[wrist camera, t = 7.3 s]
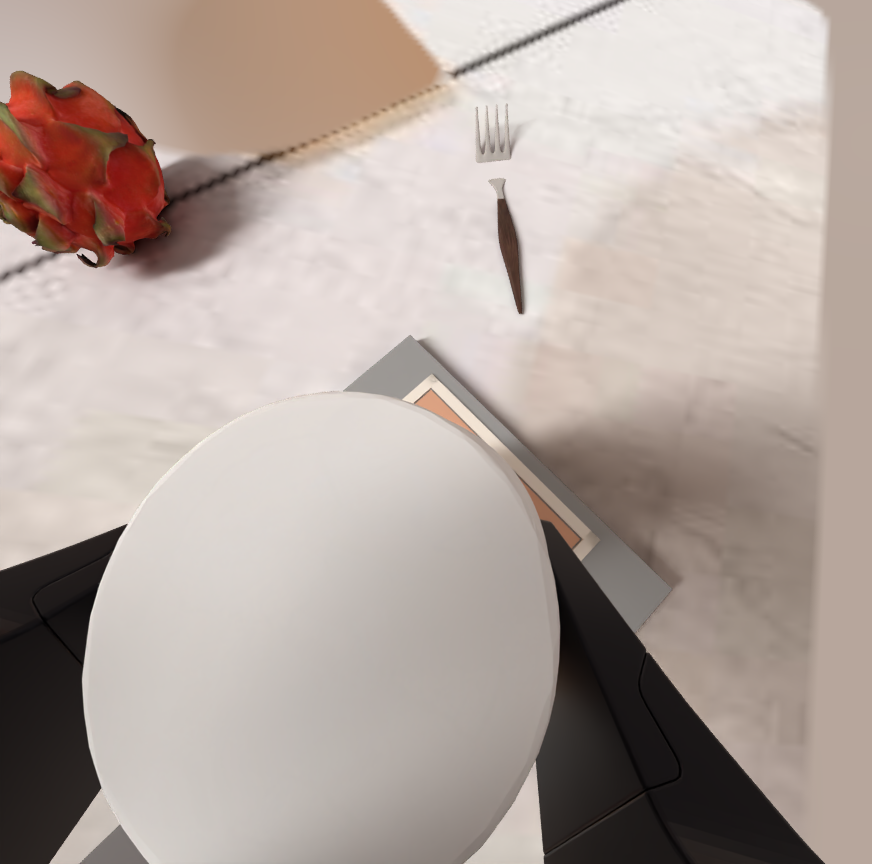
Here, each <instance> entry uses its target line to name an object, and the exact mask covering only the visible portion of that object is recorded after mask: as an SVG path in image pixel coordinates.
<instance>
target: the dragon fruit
mask: <svg viewBox="0 0 872 864" xmlns="http://www.w3.org/2000/svg"><path fill="white" fill-rule="evenodd" d="M10 88H11V98H10V101H9V103H6V104H4V103H2V102H0V219H1V220H3V222H4V223H6V224H12V225H13V226H15V227H16V228H18V229H19V230H20V231H22V232H25V233H26V234H27V235H29V236H31V237H33V238H34V239H36V240H35V241H33V242H32V244H37V245H35V246H42V249H43V250H46V251H50V252H53V253H57V254H58V253H76V252H77V251H78V250H79V249H80V248H85V249H87V250H90V251H93V252H94V253H95V254H96V255H97V257H98V260H97V263H96V264H95V263H93V262H92V261H90V260H89V259H88V258H87V257H85V256H84V255H83V254H82V256H80V255H78V254H77V256H78V258H79V259H80V260H81V261H82V262H83V263H84V264H85V265H87V266H89V267H94V268H97V267H102V266H106V265H107V264H108V263H109V262H110V260H111V259H112V257H114V252H116V253H119V254H123V255H129V254H132V253H133V252H134V251H135V245H134V243H133V242H134V241H135V240H138V239H143V238H154V239H155V238H157V237H158V236H159V235H160V234H162V233H164V232H165V231H167V234H166V236H168V235H169V234H170V232H171V226H170V224H167V222H166V221H165V219H164V218H160V221H158V220H157V216H158V215H159V213H160V212H161V210H162V209H163V208H164V207H165V206H167V205H168V204H170V200H169V198H168V197H167V193H166V191H165V189H164V181H163V176H162V171H161V168H160V165H159V162H158V160H157V158H156V156H155V151H154V150H153V146H154V144H155V142H154V141H153V140H152V139H148V140H147V139H146V138H145V137H144V136H143V134H142V133H141V132H140V131H139V129H138V127H137V125H136V124H135V122H134V121H133V120H132V118H131V117H130V116H129V115H127V114H126V113H125V112H123V111H121V110H120V109H118V108H116V107H115V106H114V105H112V104H111V103H110V102H109V101H108V100H106V99H105V98H104V97H103V96H101V95H100V94H98V93H97V92H96V91H94V90H93V89H91V88H89V87H87V86H86V85H84V84H83V83H81V82H80V81H73V82H72V83H70V84H68V85H66V86H65V87H63V89H59V90H57V89H56V88H55V87H54V86H52V85H51V84H49V83H48V82H46V81H44V80H43V79H41V78H37V77H35V76H33V75H31V74H28V73H26V72H24V71H16V72H14V73H12V74H11V76H10Z"/></svg>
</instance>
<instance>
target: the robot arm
mask: <svg viewBox="0 0 872 864" xmlns="http://www.w3.org/2000/svg"><path fill="white" fill-rule="evenodd" d="M540 521H541V525H542V528H543V531H544V535H545V539H546V543H547V549H548V556H549V559H550V562H551V567H552V571H553V575H554V579H555V585H556V592H557V599H558V606H559V620H560V647H559V667H558V675H557V684H556V692H555V698H554V703H553V707H552V711H551V716H550V720H549V724H548V727H547V730H546V733H545V736H544V739H543V742H542V745H541V748H540V751H539V753H538V756H537V758H536V769H537V781H538V793H539V805H540V817H541V829H542V842H543V852H544V854H545V855H544V864H825V863H824V862H823V861H822V860H821V859H820V858H819V857H818V856H817V855H816V854H815V853H814V852H813V851H812V850H811V848H810V847H809V846H808V845H807V844H806V843H805V842H804V841H803V839H802V838H801V837H800V836H799V835H798V834H797V833H796V832H795V830H794V829H793V828H792V827H791V826H790V824H789V823H788V822H787V821H786V820H785V819H784V817H783V816H782V815H781V814H780V813H779V811H778V810H777V809H776V808H775V807H774V806H773V804H772V803H771V802H770V801H769V800H768V798H767V797H766V796H765V795H764V794H763V793H762V791H761V790H760V789H759V788H758V787H757V785H756V784H755V783H754V782H753V781H752V780H751V778H750V777H749V776H748V775H747V774H746V773H745V771H744V770H743V769H742V768H741V767H740V765H739V764H738V763H737V762H736V761H735V760H734V758H733V757H732V756H731V755H730V754H729V752H728V751H727V750H726V749H725V748H724V747H723V745H722V744H721V743H720V742H719V741H718V739H717V738H716V737H715V736H714V735H713V733H712V732H711V731H710V730H709V729H708V727H707V726H706V725H705V724H704V722H703V721H702V720H701V719H700V718H699V716H698V715H697V714H696V713H695V712H694V710H693V709H692V708H691V707H690V705H689V704H688V703H687V702H686V701H685V699H684V698H683V697H682V695H681V694H680V693H679V691H678V690H677V689H676V688H675V686H674V685H673V684H672V682H671V681H670V680H669V678H668V677H667V676H666V675H665V673H664V672H663V671H662V669H661V668H660V667H659V665H658V664H657V663H656V661H655V660H654V659H653V657H652V656H651V655H650V653H646V648H645V647H644V645H643V644H642V643H641V641H640V640H639V639H638V637H637V636H636V635H635V633H634V632H633V631H632V629H631V628H630V627H629V625H628V624H627V623H626V621H625V620H624V619H623V617H622V616H621V615H620V613H619V612H618V610H617V609H616V608H615V606H614V605H613V604H612V602H611V601H610V600H609V598H608V597H607V596H606V594H605V593H604V592H603V590H602V589H601V588H600V586H599V585H598V584H597V582H596V581H595V580H594V578H593V577H592V576H591V574H590V573H589V572H588V570H587V569H586V568H585V566H584V565H583V564H582V562H581V561H580V559H579V558H578V557H577V555H576V554H575V553H574V551H573V550H572V549H571V547H570V546H569V545H568V543H567V542H566V541H565V539H564V538H563V537H562V535H561V534H560V533H559V531H558V530H557V529H556V527H555V526H554V525H553V523H552V522H550V521H546V520H542V519H540ZM127 525H128V524H126V525H123V526H121V527H118V528H116V529H113V530H111V531H108V532H106V533H103V534H101V535H98V536H95V537H93V538H90V539H88V540H85V541H82V542H80V543H77V544H75V545H72V546H69V547H66V548H64V549H61V550H58V551H55V552H53V553H50V554H47V555H44V556H41V557H39V558H36V559H33V560H30V561H27V562H24V563H21V564H18V565H16V566H13V567H10V568H7V569H4V570H1V571H0V864H49V863H50V861H51V860H52V859H53V857H54V856H55V854H56V853H57V851H58V850H59V848H60V847H61V846H62V844H63V843H64V841H65V840H66V838H67V837H68V835H69V834H70V833H71V831H72V830H73V828H74V827H75V825H76V824H77V823H78V821H79V820H80V818H81V817H82V815H83V814H84V812H85V811H86V810H87V808H88V807H89V805H90V804H91V802H92V801H93V799H94V798H95V797H96V795H97V794H98V792H99V791H100V789H101V788H102V787H101V784H100V781H99V778H98V775H97V772H96V769H95V766H94V762H93V759H92V755H91V752H90V748H89V743H88V736H87V729H86V722H85V716H84V703H83V688H82V675H83V667H84V659H85V651H86V643H87V636H88V629H89V622H90V616H91V612H92V609H93V605H94V602H95V599H96V595H97V592H98V588H99V585H100V582H101V580H102V577H103V575H104V572H105V569H106V567H107V565H108V562H109V560H110V558H111V556H112V554H113V551H114V549H115V547H116V545H117V542H118V540H119V538H120V536H121V535H122V533H123V532H124V530H125V528H126V527H127Z"/></svg>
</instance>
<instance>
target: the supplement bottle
mask: <svg viewBox="0 0 872 864" xmlns="http://www.w3.org/2000/svg"><path fill="white" fill-rule="evenodd" d="M559 647H560V620H559V606H558V599H557V592H556V585H555V579H554V575H553V571H552V567H551V562H550V559H549V556H548V549H547V543H546V539H545V535H544V531H543V528H542V525H541V521H540V519H539V516H538V513H537V511H536V508H535V506H534V504H533V501H532V499H531V497H530V496H529V494H528V492H527V490H526V488H525V487H524V485H523V483H522V482H521V481H520V479H519V478H518V476H517V475H516V473H515V472H514V470H513V469H512V468H511V467H510V465H509V464H508V463H507V462H506V461H505V460H504V459H503V458H502V457H501V456H500V455H499V454H498V453H497V452H496V451H495V450H494V449H493V448H492V447H490V446H489V445H488V444H487V443H486V442H485V441H484V440H482V439H481V438H479V437H478V436H476V435H475V434H473V433H472V432H470V431H468V430H467V429H465V428H463V427H461V426H459V425H458V424H456V423H453V422H451V421H449V420H447V419H445V418H443V417H442V416H440V415H438V414H436V413H434V412H432V411H430V410H428V409H426V408H423V407H421V406H419V405H417V404H414V403H411V402H407V401H404V400H401V399H398V398H394V397H389V396H384V395H378V394H371V393H364V392H344V391H330V392H321V393H315V394H310V395H301V396H296V397H292V398H288V399H285V400H281V401H278V402H274V403H271V404H268V405H266V406H263V407H261V408H259V409H256V410H254V411H251V412H249V413H246V414H244V415H242V416H240V417H239V418H237V419H235V420H233V421H231V422H230V423H228V424H226V425H225V426H223V427H222V428H220V429H219V430H217V431H216V432H214V433H213V434H211V435H209V436H208V437H207V438H205V439H204V440H203V441H201V442H200V443H199V444H197V445H196V446H195V447H194V448H193V449H191V450H190V451H189V452H188V453H187V454H186V455H184V456H183V457H182V458H181V459H180V460H178V461H177V462H176V463H175V464H174V465H173V466H172V467H171V469H170V470H169V471H168V472H167V473H166V474H165V475H164V476H163V477H162V478H161V479H160V480H159V481H158V482H157V483H156V484H155V486H154V487H153V488H152V490H151V491H150V492H149V494H148V495H147V496H146V498H145V499H144V500H143V502H142V503H141V504H140V506H139V507H138V508H137V510H136V512H135V513H134V515H133V517H132V518H131V520H130V522H129V523H128V525H127V527H126V528H125V530H124V532H123V533H122V535H121V536H120V538H119V540H118V542H117V545H116V547H115V549H114V551H113V554H112V556H111V558H110V560H109V562H108V565H107V567H106V569H105V572H104V575H103V577H102V580H101V582H100V585H99V588H98V592H97V595H96V599H95V602H94V605H93V609H92V612H91V616H90V622H89V629H88V636H87V643H86V651H85V659H84V667H83V675H82V688H83V703H84V716H85V722H86V729H87V736H88V743H89V748H90V752H91V755H92V759H93V762H94V766H95V769H96V772H97V775H98V778H99V781H100V784H101V787H102V790H103V793H104V796H105V798H106V800H107V802H108V804H109V806H110V808H111V809H112V811H113V813H114V814H115V816H116V818H117V820H118V821H119V823H120V825H121V826H122V828H123V830H124V831H125V832H126V834H127V835H128V836H129V838H130V839H131V841H132V842H133V843H134V845H135V846H136V847H137V849H138V850H139V852H140V853H141V854H142V856H143V857H144V858H145V859H146V860H147V862H148V863H149V864H463V863H464V862H465V861H467V860H468V859H469V858H470V857H471V856H472V855H473V854H474V853H475V852H477V851H478V850H479V849H480V848H481V847H482V846H483V844H484V843H485V842H486V840H487V839H488V838H489V837H490V835H491V834H492V833H493V831H494V830H495V828H496V827H497V825H498V824H499V823H500V821H501V820H502V818H503V817H504V815H505V814H506V813H507V811H508V810H509V808H510V807H511V806H512V804H513V803H514V801H515V799H516V797H517V795H518V793H519V791H520V789H521V787H522V786H523V784H524V782H525V780H526V778H527V776H528V774H529V772H530V770H531V768H532V766H533V764H534V762H535V760H536V758H537V756H538V753H539V751H540V748H541V745H542V742H543V739H544V736H545V733H546V730H547V727H548V724H549V720H550V716H551V711H552V707H553V703H554V698H555V692H556V684H557V675H558V667H559Z"/></svg>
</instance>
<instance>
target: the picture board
mask: <svg viewBox="0 0 872 864" xmlns="http://www.w3.org/2000/svg"><path fill="white" fill-rule="evenodd" d="M344 392H364V393H371V394H378V395H384V396H389V397H394V398H398V399H401V400H404V401H407V402H411V403H414V404H417V405H419V406H421V407H423V408H426V409H428V410H430V411H432V412H434V413H436V414H438V415H440V416H442V417H443V418H445V419H447V420H449V421H451V422H453V423H456V424H458V425H459V426H461V427H463V428H465V429H467V430H468V431H470V432H472V433H473V434H475V435H476V436H478V437H479V438H481V439H482V440H484V441H485V442H486V443H487V444H488V445H489V446H490V447H492V448H493V449H494V450H495V451H496V452H497V453H498V454H499V455H500V456H501V457H502V458H503V459H504V460H505V461H506V462H507V463H508V464H509V465H510V467H511V468H512V469H513V470H514V472H515V473H516V475H517V476H518V478H519V479H520V481H521V482H522V483H523V485H524V487H525V488H526V490H527V492H528V494H529V496H530V497H531V499H532V501H533V504H534V506H535V508H536V511H537V513H538V516H539V519H542V520H546V521H550V522H552V523H553V525H554V526H555V527H556V529H557V530H558V531H559V533H560V534H561V535H562V537H563V538H564V539H565V541H566V542H567V543H568V545H569V546H570V547H571V549H572V550H573V551H574V553H575V554H576V555H577V557H578V558H579V559H580V561H581V562H582V564H583V565H584V566H585V568H586V569H587V570H588V572H589V573H590V574H591V576H592V577H593V578H594V580H595V581H596V582H597V584H598V585H599V586H600V588H601V589H602V590H603V592H604V593H605V594H606V596H607V597H608V598H609V600H610V601H611V602H612V604H613V605H614V606H615V608H616V609H617V610H618V612H619V613H620V615H621V616H622V617H623V619H624V620H625V621H626V623H627V624H628V625H629V627H630V628H631V629H632V631H633V632H634V633H635V632H636V631H637V630H638V629H639V628H640V627H641V625H642V624H643V623H644V622H645V621H646V620H647V618H648V617H649V616H650V615H651V614H652V613H653V611H654V610H655V609H656V608H657V607H658V606H659V604H660V603H661V602H662V601H663V600H664V599H665V597H666V596H667V595H668V594H669V593H670V592H671V590H672V588H671V587H670V586H669V585H668V584H667V583H666V582H664V581H663V580H662V579H661V578H660V577H659V576H658V575H657V574H656V573H655V572H654V571H653V570H652V569H651V568H650V567H649V566H648V565H647V564H646V563H645V562H644V561H643V560H642V559H641V558H640V557H639V556H638V555H637V554H636V553H635V552H634V551H633V550H631V549H630V548H629V547H628V546H627V545H626V544H625V543H624V542H623V541H622V540H621V539H620V538H619V537H618V536H617V535H616V534H615V533H614V532H613V531H612V530H611V529H610V528H609V527H608V526H607V525H606V524H605V523H604V522H603V521H602V520H601V519H600V518H598V517H597V516H596V515H595V514H594V513H593V512H592V511H591V510H590V509H589V508H588V507H587V506H586V505H585V504H584V503H583V502H582V501H581V500H580V499H579V498H578V497H577V496H576V495H575V494H574V493H573V492H572V491H571V490H570V489H569V488H568V487H567V486H566V485H564V484H563V483H562V482H561V481H560V480H559V479H558V478H557V477H556V476H555V475H554V474H553V473H552V472H551V471H550V470H549V469H548V468H547V467H546V466H545V465H544V464H543V463H542V462H541V461H540V460H539V459H538V458H537V457H536V456H535V455H534V454H533V453H531V452H530V451H529V450H528V449H527V448H526V447H525V446H524V445H523V444H522V443H521V442H520V441H519V440H518V439H517V438H516V437H515V436H514V435H513V434H512V433H511V432H510V431H509V430H508V429H507V428H506V427H505V426H504V425H503V424H502V423H501V422H500V421H499V420H497V419H496V418H495V417H494V416H493V415H492V414H491V413H490V412H489V411H488V410H487V409H486V408H485V407H484V406H483V405H482V404H481V403H480V402H479V401H478V400H477V399H476V398H475V397H474V396H473V395H472V394H471V393H470V392H469V391H468V390H467V389H466V388H464V387H463V386H462V385H461V384H460V383H459V382H458V381H457V380H456V379H455V378H454V377H453V376H452V375H451V374H450V373H449V372H448V371H447V370H446V369H445V368H444V367H443V366H442V365H441V364H440V363H439V362H438V361H437V360H436V359H435V358H434V357H433V356H431V355H430V354H429V353H428V352H427V351H426V350H425V349H424V348H423V347H422V346H421V345H420V344H419V343H418V342H417V341H416V340H415V339H414V338H413V337H412V336H411V335H409V336H408V337H407V338H406V339H405V340H403V341H402V342H401V343H400V344H399V345H397V346H396V347H395V348H394V349H393V350H391V351H390V352H389V353H388V354H387V355H385V356H384V357H383V358H382V359H381V360H379V361H378V362H377V363H376V364H375V365H373V366H372V367H371V368H370V369H369V370H367V371H366V372H365V373H364V374H363V375H362V376H360V377H359V378H358V379H357V380H356V381H354V382H353V383H352V384H351V385H350V386H348V387H347V388H346V389H345V390H344Z"/></svg>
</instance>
